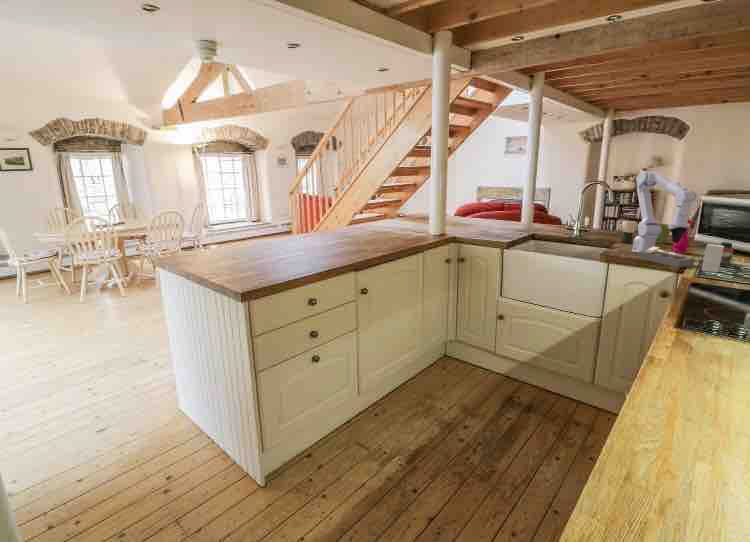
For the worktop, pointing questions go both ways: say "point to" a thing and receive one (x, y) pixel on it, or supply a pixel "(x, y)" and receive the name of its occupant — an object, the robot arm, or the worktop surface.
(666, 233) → the plant pot
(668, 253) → the middle rocker
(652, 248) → the left rocker
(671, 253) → the right rocker
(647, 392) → the worktop surface
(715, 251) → the skincare box
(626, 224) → the character mug
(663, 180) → the robot arm
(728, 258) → the supplement bottle
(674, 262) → the power strip
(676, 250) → the pepper mill
